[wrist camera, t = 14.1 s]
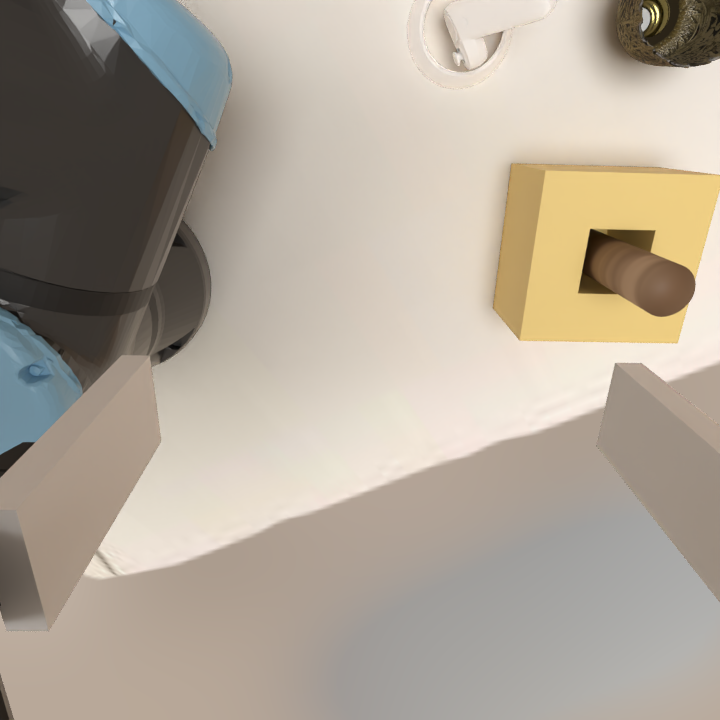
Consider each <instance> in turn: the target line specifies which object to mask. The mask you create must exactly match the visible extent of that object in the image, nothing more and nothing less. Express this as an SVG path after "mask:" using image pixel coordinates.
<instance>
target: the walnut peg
mask: <svg viewBox="0 0 720 720" xmlns="http://www.w3.org/2000/svg"><path fill="white" fill-rule="evenodd" d="M582 273H584V274H585V275H587V276H589V277H590V278H592V279H594V280H595V281H597V282H598V283H600V284H602V285H603V286H605V287H607V288H608V289H610V290H612V291H613V292H615V293H617V294H618V295H620V296H621V297H623V298H625V299H626V300H628V301H630V302H631V303H633V304H635V305H636V306H638V307H640V308H641V309H643V310H644V311H646V312H648V313H649V314H651V315H654V316H657V317H666V316H670V315H673V314H676V313H677V312H679V311H681V310H682V309H683V308H684V307H685V306H686V305H687V304H688V303H689V302H690V300H691V299H692V297H693V294H694V291H695V278H694V275H693V274H692V272H691V271H690V270H689V269H688V268H687V267H685V266H683V265H680V264H678V263H675V262H673V261H670V260H668V259H665V258H663V257H660V256H658V255H655V254H653V253H651V252H648V251H646V250H643V249H641V248H638V247H636V246H633V245H631V244H628V243H626V242H623V241H621V240H619V239H616V238H614V237H611V236H609V235H606V234H604V233H601V232H599V231H596V230H594V229H590V232H589V237H588V243H587V248H586V253H585V258H584V264H583V269H582Z"/></svg>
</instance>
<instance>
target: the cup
mask: <svg viewBox="0 0 720 720" xmlns="http://www.w3.org/2000/svg"><path fill="white" fill-rule="evenodd" d="M642 7H644V8H647V9H648V10H649V12H650V14H651V22H650V25H649V27H648V28H647V29H646V30H645V31H644V32H643V31H642V30H641V24H642V23H643V18H642ZM616 28H617V34H618V38H619V40H620V42H621V45H622V46H623V48H624V49H625V51H626V52H627V53H628V54H629V55H630V56H631V57H633V58H634V59H636V60H638V61H640V62H642V63H646V64H649V65H655V66H669V67H684V68H689V66H693V67H694V66H699V65H705V64H709V63H711V62H712V61H715V60H717V59H720V0H620V2H619V5H618V10H617V16H616Z"/></svg>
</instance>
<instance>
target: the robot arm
mask: <svg viewBox="0 0 720 720" xmlns="http://www.w3.org/2000/svg"><path fill="white" fill-rule="evenodd" d="M231 85H232V70H231V65H230V62H229V58H228V55H227V53H226V52H225V50H224V48H223V47H222V45H221V43H220V42H219V41H218V39H217V38H216V37H215V36H214V35H213V34H212V32H211V31H210V30H209V29H208V28H207V27H206V26H205V25H204V24H203V23H202V22H201V21H199V20H198V19H197V18H196V17H195V16H194V15H193V14H192V13H191V12H189V11H188V10H187V9H186V8H185V7H184V6H183V5H181V4H180V3H179V2H178V1H177V0H0V611H1V614H2V618H3V621H4V624H5V627H6V630H7V631H49V630H50V628H51V627H52V625H53V624H54V622H55V620H56V618H57V617H58V615H59V613H60V612H61V610H62V608H63V607H64V605H65V603H66V601H67V600H68V598H69V597H70V595H71V593H72V591H73V590H74V588H75V586H76V585H77V583H78V581H79V580H80V578H81V576H82V575H83V573H84V571H85V569H86V568H87V566H88V564H89V563H90V561H91V559H92V558H93V556H94V554H95V553H96V551H97V549H98V547H99V546H100V544H101V542H102V541H103V539H104V537H105V536H106V534H107V532H108V531H109V529H110V527H111V525H112V524H113V522H114V520H115V519H116V517H117V515H118V514H119V512H120V510H121V509H122V507H123V505H124V503H125V502H126V500H127V498H128V497H129V495H130V493H131V492H132V490H133V488H134V487H135V485H136V483H137V481H138V480H139V478H140V476H141V475H142V473H143V471H144V470H145V468H146V466H147V465H148V463H149V461H150V459H151V458H152V456H153V454H154V453H155V451H156V449H157V448H158V446H159V444H160V443H161V436H160V428H159V421H158V413H157V406H156V398H155V391H154V383H153V376H152V369H151V367H152V366H155V365H157V364H160V363H162V362H164V361H166V360H168V359H169V358H171V357H173V356H174V355H175V354H177V353H178V352H179V351H181V350H182V349H183V348H184V347H185V346H186V345H187V344H188V343H189V341H190V340H191V339H192V338H193V336H194V335H195V334H196V332H197V331H198V329H199V328H200V326H201V324H202V323H203V321H204V319H205V316H206V314H207V311H208V307H209V303H210V296H211V279H210V272H209V267H208V264H207V260H206V257H205V255H204V252H203V250H202V248H201V246H200V244H199V242H198V240H197V239H196V237H195V236H194V234H193V233H192V231H191V230H190V229H189V227H188V226H187V225H186V224H185V223H184V222H183V220H182V218H183V215H184V212H185V210H186V207H187V205H188V202H189V200H190V197H191V195H192V192H193V189H194V187H195V184H196V182H197V179H198V177H199V174H200V172H201V169H202V166H203V164H204V161H205V159H206V156H207V154H208V151H209V150H211V151H213V150H214V149H215V147H216V143H217V139H216V131H217V128H218V125H219V122H220V119H221V116H222V113H223V110H224V107H225V104H226V101H227V98H228V96H229V93H230V89H231ZM596 446H597V447H598V449H599V450H600V451H601V453H602V454H603V455H604V456H605V458H606V459H607V460H608V461H609V463H610V464H611V465H612V466H613V468H614V469H615V470H616V471H617V473H618V474H619V475H620V477H621V478H622V479H623V480H624V481H625V483H626V484H627V485H628V487H629V488H630V489H631V490H632V492H633V493H634V494H635V496H636V497H637V498H638V499H639V501H640V502H641V503H642V504H643V506H644V507H645V508H646V509H647V511H648V512H649V513H650V514H651V516H652V517H653V518H654V520H655V521H656V522H657V523H658V525H659V526H660V527H661V528H662V530H663V531H664V532H665V533H666V535H667V536H668V537H669V538H670V540H671V541H672V542H673V544H674V545H675V546H676V547H677V549H678V550H679V551H680V552H681V554H682V555H683V556H684V558H685V559H686V560H687V561H688V563H689V564H690V565H691V566H692V568H693V569H694V570H695V571H696V573H697V574H698V575H699V576H700V578H701V579H702V580H703V582H704V583H705V584H706V585H707V587H708V588H709V589H710V590H711V592H712V593H713V594H714V595H715V597H716V598H717V599H718V601H719V602H720V425H719V424H718V423H716V422H715V421H714V420H713V419H711V418H710V417H709V416H707V415H706V414H705V413H703V412H702V411H701V410H700V409H699V408H697V407H696V406H695V405H694V404H692V403H691V402H690V401H689V400H687V399H686V398H685V397H683V396H682V395H681V394H680V393H678V392H677V391H676V390H675V389H673V388H672V387H671V386H670V385H668V384H667V383H666V382H665V381H663V380H662V379H661V378H660V377H658V376H657V375H656V374H654V373H653V372H652V371H651V370H649V369H648V368H647V367H646V366H644V365H643V364H642V363H615V366H614V371H613V375H612V379H611V384H610V388H609V393H608V397H607V401H606V406H605V410H604V415H603V419H602V423H601V428H600V432H599V436H598V440H597V445H596ZM0 720H14V718H13V715H12V711H11V708H10V705H9V701H8V698H7V695H6V692H5V688H4V685H3V682H2V678H1V675H0Z"/></svg>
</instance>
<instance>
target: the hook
mask: <svg viewBox="0 0 720 720" xmlns="http://www.w3.org/2000/svg"><path fill="white" fill-rule="evenodd" d="M431 1H432V0H415V1H414V3H413V6H412V8H411V11H410V14H409V20H408V27H407V38H408V44H409V49H410V52H411V55H412V58H413V60H414V62H415V64H416V66H417V67H418V69H419V70H420V71H421V72H422V73H423V75H424V76H425V77H426V78H428V79H429V80H430V81H432V82H433V83H435V84H437V85H439V86H442V87H445V88H450V89H463V88H467V87H471V86H474V85H476V84H478V83H480V82H482V81H483V80H485V79H486V78H487V77H489V76H490V75H491V74H492V73H493V72H494V71H495V70H496V69H497V68H498V66H499V65H500V63H501V62H502V60H503V59H504V57H505V55H506V52H507V50H508V48H509V44H510V40H511V36H512V28H515V27H519V26H522V25H526V24H529V23H533V22H536V21H539V20H541V19H544V18H545V17H547V16H548V15H549V14H550V13H551V12H552V10H553V9H554V7H555V5H556V3H557V0H456V1H453V2H451V3H450V4H449V5H448V7H447V8H446V9H445V10H444V19H445V22H446V26H447V28H448V31H449V33H450V35H451V38H452V40H453V43H454V45H455V47H456V50H457V52H458V54H457V53H456V52H453V58H454V61H455V63H456V64H457V65H458V66H459V65H460V60H461V61H462V63H463V64H464V66H465V67H466V68H467V69H468V70H470V69H474V68H476V69H474V70H470V71H466V72H456V71H452V70H449V69H447V68H444V67H443V66H441V65H440V64H439V63H437V61H436V60H435V59H434V58H433V57H432V55H431V53H430V52H429V50H428V48H427V45H426V42H425V36H424V21H425V16H426V12H427V10H428V7H429V5H430V3H431ZM501 31H503V34H502V38H501V41H500V43H499V46H498V48H497V49H496V51H495V52H494V54H493V55H492V57H491V58H490V59H489V60H488V61H487V62H486V63H484V61H485V60H486V59H487V49H486V45H485V42H484V39H483V37H484V36H488V35H491V34H495V33H498V32H501ZM483 63H484V64H483ZM482 64H483V65H482ZM480 65H482V66H480ZM479 66H480V67H479ZM477 67H478V68H477Z"/></svg>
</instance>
